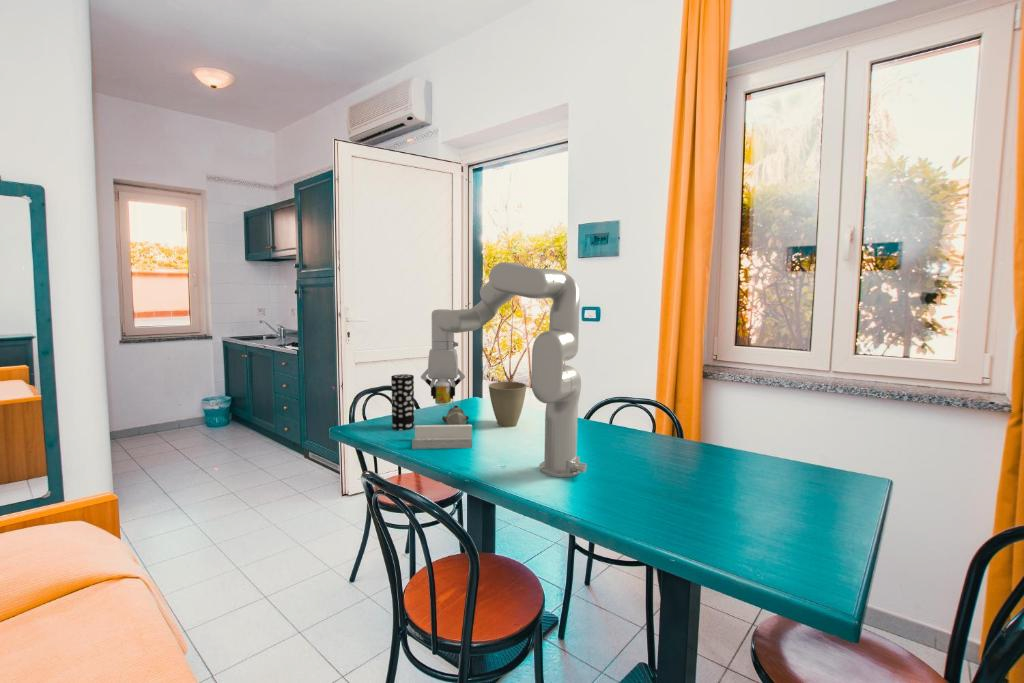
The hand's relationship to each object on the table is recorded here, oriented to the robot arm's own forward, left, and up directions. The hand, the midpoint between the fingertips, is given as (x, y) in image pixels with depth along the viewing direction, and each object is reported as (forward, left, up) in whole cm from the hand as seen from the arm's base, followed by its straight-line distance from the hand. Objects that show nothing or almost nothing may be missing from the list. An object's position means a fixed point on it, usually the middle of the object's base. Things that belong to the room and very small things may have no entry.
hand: (443, 397), depth 173 cm
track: (0, 0, -16) cm, 16 cm away
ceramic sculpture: (+12, -18, -17) cm, 27 cm away
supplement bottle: (0, 0, -2) cm, 2 cm away
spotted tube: (+26, -3, -16) cm, 31 cm away
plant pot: (-1, -33, -16) cm, 37 cm away
